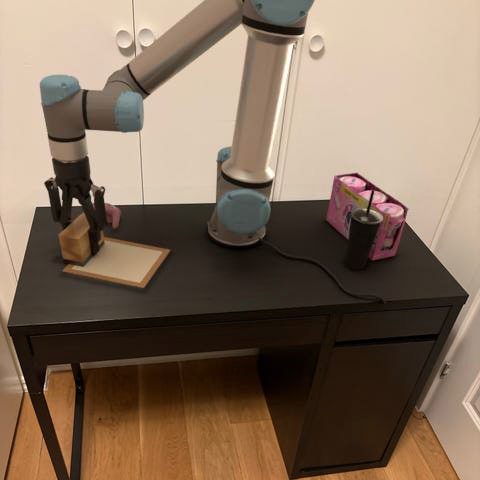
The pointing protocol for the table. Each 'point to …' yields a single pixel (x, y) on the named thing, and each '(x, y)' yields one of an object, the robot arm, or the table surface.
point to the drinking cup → (362, 235)
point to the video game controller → (112, 214)
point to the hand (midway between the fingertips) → (84, 250)
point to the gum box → (356, 197)
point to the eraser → (77, 242)
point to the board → (122, 263)
